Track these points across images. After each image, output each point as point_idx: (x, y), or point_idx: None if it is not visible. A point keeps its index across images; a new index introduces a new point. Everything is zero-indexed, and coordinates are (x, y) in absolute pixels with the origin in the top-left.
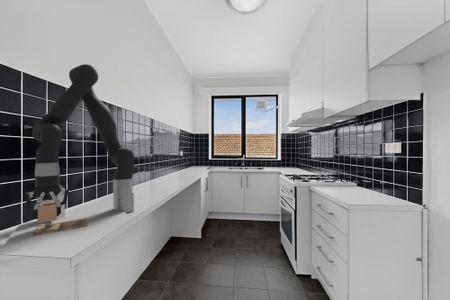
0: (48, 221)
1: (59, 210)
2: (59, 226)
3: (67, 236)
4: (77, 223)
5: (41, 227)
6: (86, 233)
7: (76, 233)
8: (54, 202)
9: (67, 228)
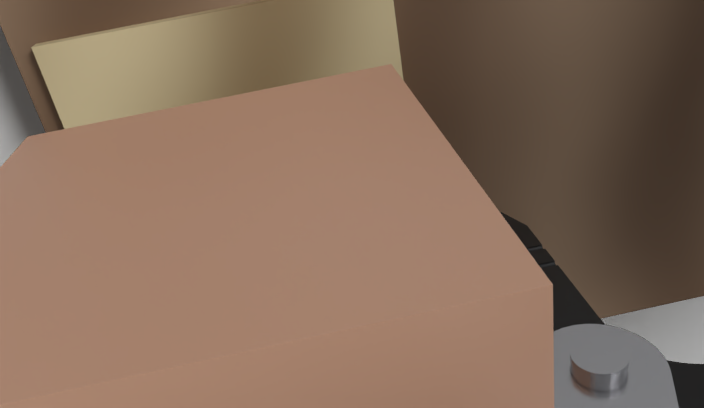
0: None
1: None
2: None
3: None
4: (669, 71)
5: (119, 102)
6: (696, 360)
7: (606, 324)
8: (432, 342)
9: None
